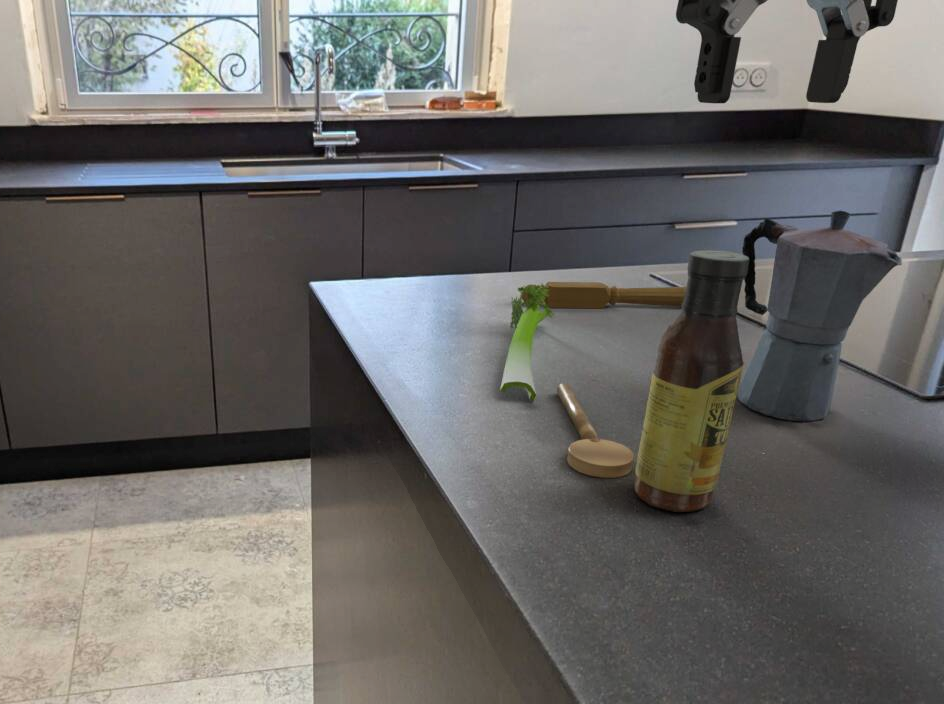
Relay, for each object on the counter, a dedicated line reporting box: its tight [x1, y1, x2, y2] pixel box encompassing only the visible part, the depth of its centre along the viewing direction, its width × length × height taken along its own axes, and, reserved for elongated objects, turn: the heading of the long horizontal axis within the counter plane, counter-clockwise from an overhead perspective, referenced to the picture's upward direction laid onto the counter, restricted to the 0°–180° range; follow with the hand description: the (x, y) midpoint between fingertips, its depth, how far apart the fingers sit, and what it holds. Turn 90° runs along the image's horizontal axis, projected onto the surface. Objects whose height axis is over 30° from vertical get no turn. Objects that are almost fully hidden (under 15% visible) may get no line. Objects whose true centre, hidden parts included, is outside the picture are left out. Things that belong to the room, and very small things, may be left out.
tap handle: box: [521, 281, 687, 309], centre depth 120 cm, size 3×3×30 cm
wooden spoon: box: [556, 382, 635, 479], centre depth 80 cm, size 20×6×1 cm, turn 178°
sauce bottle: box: [633, 250, 749, 513], centre depth 64 cm, size 7×6×20 cm
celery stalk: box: [499, 282, 555, 403], centre depth 99 cm, size 6×7×30 cm
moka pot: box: [736, 210, 903, 422], centre depth 82 cm, size 10×15×20 cm, turn 36°
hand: (768, 102), depth 53 cm, fingers open, 8 cm apart
